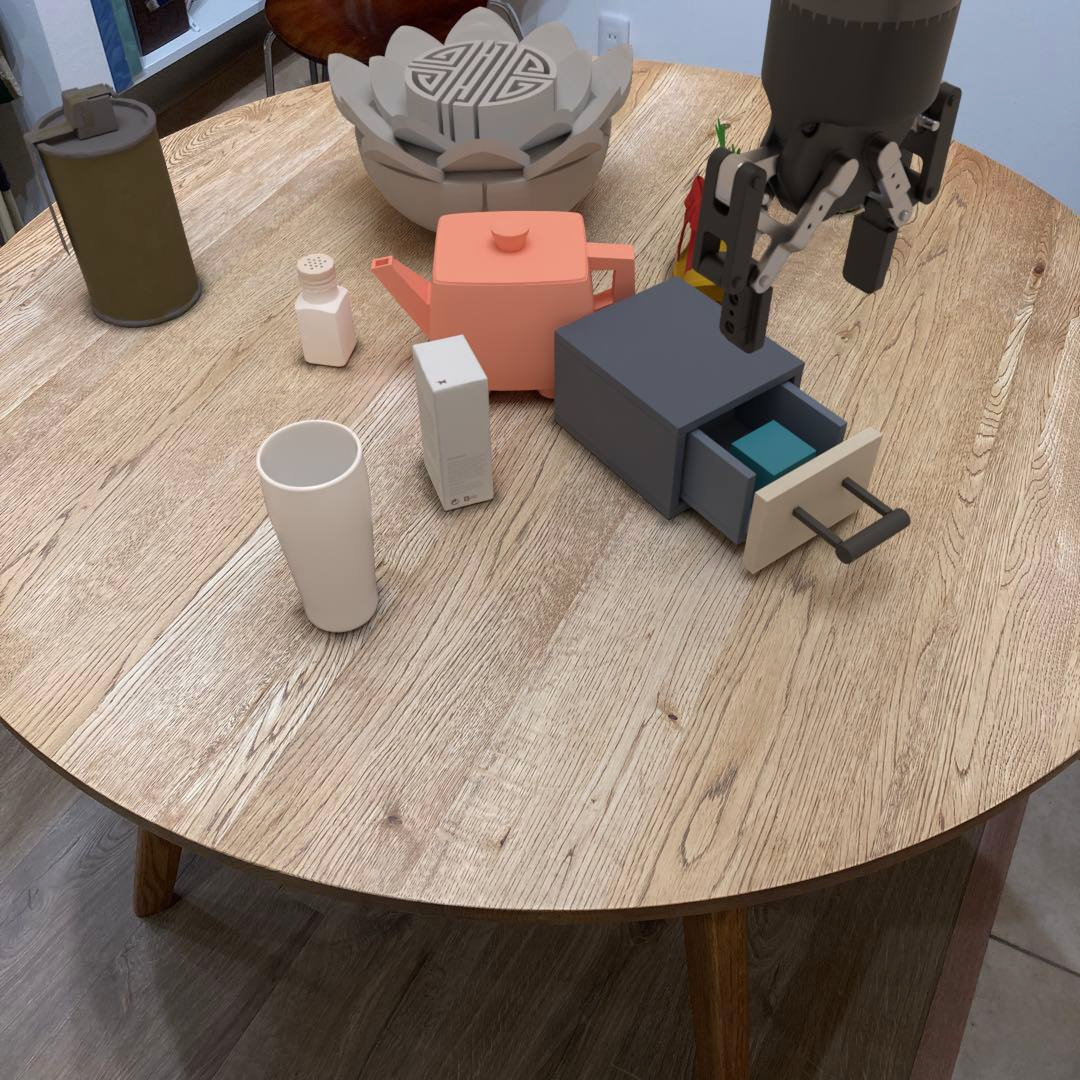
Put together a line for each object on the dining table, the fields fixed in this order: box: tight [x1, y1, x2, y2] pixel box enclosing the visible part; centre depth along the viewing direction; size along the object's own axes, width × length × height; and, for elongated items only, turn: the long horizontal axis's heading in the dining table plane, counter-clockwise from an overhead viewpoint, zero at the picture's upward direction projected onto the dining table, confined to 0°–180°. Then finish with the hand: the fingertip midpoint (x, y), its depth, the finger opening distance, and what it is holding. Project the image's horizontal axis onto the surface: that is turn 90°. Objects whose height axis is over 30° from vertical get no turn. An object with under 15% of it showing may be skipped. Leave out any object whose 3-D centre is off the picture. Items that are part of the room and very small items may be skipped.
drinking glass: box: [255, 419, 380, 633], centre depth 74 cm, size 7×7×15 cm
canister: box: [22, 83, 203, 327], centre depth 100 cm, size 11×10×20 cm
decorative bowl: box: [327, 6, 634, 234], centre depth 112 cm, size 30×30×15 cm
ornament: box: [672, 117, 741, 303], centre depth 103 cm, size 21×8×15 cm, turn 177°
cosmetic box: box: [411, 335, 495, 511], centre depth 84 cm, size 6×4×12 cm
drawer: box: [679, 380, 912, 575], centre depth 82 cm, size 19×12×7 cm, turn 36°
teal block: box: [730, 420, 816, 509], centre depth 83 cm, size 4×4×5 cm
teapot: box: [370, 211, 636, 399], centre depth 94 cm, size 22×13×14 cm, turn 91°
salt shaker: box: [294, 253, 357, 368], centre depth 97 cm, size 4×4×10 cm
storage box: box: [553, 276, 806, 520], centre depth 89 cm, size 15×13×9 cm
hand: (803, 313), depth 56 cm, fingers open, 8 cm apart
